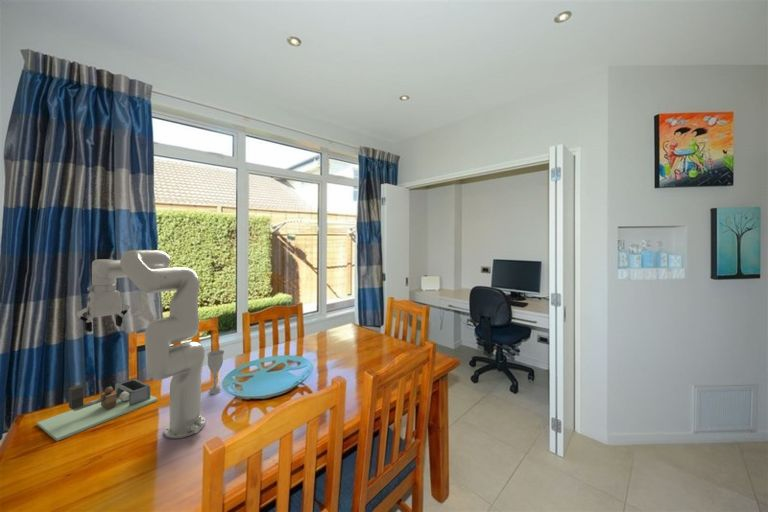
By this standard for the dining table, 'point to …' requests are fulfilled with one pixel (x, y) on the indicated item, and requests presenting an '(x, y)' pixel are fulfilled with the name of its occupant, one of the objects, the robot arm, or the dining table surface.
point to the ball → (124, 396)
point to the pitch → (86, 418)
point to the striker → (77, 401)
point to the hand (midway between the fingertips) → (104, 328)
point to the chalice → (215, 367)
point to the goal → (133, 391)
